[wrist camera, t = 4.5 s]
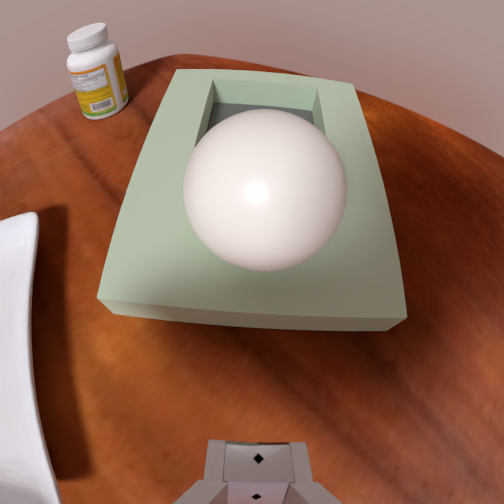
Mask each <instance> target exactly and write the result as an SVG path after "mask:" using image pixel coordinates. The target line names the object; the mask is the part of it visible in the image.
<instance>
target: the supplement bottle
mask: <svg viewBox="0 0 504 504" xmlns="http://www.w3.org/2000/svg"><path fill="white" fill-rule="evenodd" d="M107 38H108V31H107V26H106V24H105V23H95V24H91V25H88V26H85V27H83V28H80V29H78V30H76V31H75V32H73V33H71V34H70V35H69V36H68V38H67V42H68V46H69V49H70V51H72V53H71V54H70V56H69V58H68V59H67V67H68V71H69V74H70V77H71V80H72V83H73V85H74V89H75V92H76V95H77V98H78V101H79V103H80V106H81V109H82V112H83V114H84V116H85V117H87V118H89V119H93V120H97V119H104V118H107V117H110V116H112V115H114V114H116V113H118V112H119V111H120V110H121V109H123V108H124V106H125V105H126V104H127V102H128V91H127V87H126V83H125V79H124V74H123V70H122V65H121V60H120V55H119V50H118V46H117V44H116V43H115V42H114V41H112V40H107Z"/></svg>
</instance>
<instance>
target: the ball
mask: <svg viewBox="0 0 504 504" xmlns="http://www.w3.org/2000/svg"><path fill="white" fill-rule="evenodd" d="M346 196H347V187H346V176H345V173H344V169H343V165H342V162H341V160H340V157H339V155H338V153H337V151H336V150H335V148H334V146H333V145H332V143H331V142H330V141H329V140H328V139H327V137H326V136H325V135H324V134H323V133H322V132H321V131H320V130H319V129H318V128H316V127H315V126H314V125H312V124H311V123H309V122H308V121H306V120H304V119H303V118H301V117H299V116H296V115H294V114H291V113H288V112H284V111H279V110H272V109H257V110H250V111H245V112H242V113H239V114H236V115H233V116H231V117H228V118H227V119H225V120H223V121H221V122H220V123H218V124H217V125H215V126H214V127H213V128H211V129H210V130H209V131H208V132H207V133H206V134H205V135H204V136H203V138H202V139H201V140H200V141H199V143H198V144H197V145H196V147H195V149H194V150H193V152H192V154H191V156H190V158H189V161H188V164H187V167H186V170H185V175H184V182H183V199H184V205H185V210H186V213H187V216H188V219H189V222H190V224H191V226H192V228H193V230H194V231H195V233H196V235H197V236H198V238H199V239H200V240H201V241H202V243H203V244H204V245H205V246H206V247H207V248H208V249H209V250H210V251H211V252H213V253H214V254H215V255H216V256H218V257H219V258H221V259H222V260H224V261H226V262H228V263H230V264H232V265H234V266H237V267H240V268H243V269H247V270H253V271H278V270H283V269H287V268H291V267H293V266H296V265H298V264H300V263H302V262H304V261H306V260H308V259H310V258H311V257H313V256H314V255H315V254H316V253H318V252H319V251H320V250H321V249H322V248H323V247H324V246H325V245H326V244H327V243H328V242H329V240H330V239H331V237H332V236H333V235H334V233H335V232H336V230H337V228H338V226H339V224H340V222H341V219H342V216H343V213H344V209H345V204H346Z"/></svg>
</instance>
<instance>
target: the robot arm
mask: <svg viewBox="0 0 504 504" xmlns="http://www.w3.org/2000/svg"><path fill="white" fill-rule="evenodd" d="M225 443H226V446H225ZM0 504H1V503H0ZM173 504H342V503H341V502H340V501H339V500H338V499H337V498H335V497H334V496H333V495H332V494H331V493H330V492H329V491H328V490H326V489H325V488H324V487H323V486H322V485H321V484H320V483H319V482H313V477H312V471H311V466H310V460H309V455H308V450H307V445H306V443H305V442H298V443H288V442H279V443H262V442H257V443H248V442H235V441H223V440H212V439H209V442H208V448H207V456H206V464H205V473H204V480H198V481H197V482H196V483H195V484H194V485H193V486H192V487H191V488H189V489H188V490H187V491H186V492H185V493H184V494H183V495H182V496H181V497H180V498H179V499H177V500H176V501H175V502H174V503H173Z"/></svg>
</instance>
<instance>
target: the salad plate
mask: <svg viewBox="0 0 504 504" xmlns="http://www.w3.org/2000/svg"><path fill="white" fill-rule="evenodd" d="M38 238H39V218H38V215H37V213H36V212H28V213H24V214H20V215H17V216H13V217H10V218H7V219H4V220H2V221H0V503H1V504H63V503H62V497H61V493H60V490H59V486H58V483H57V480H56V476H55V473H54V470H53V467H52V464H51V460H50V457H49V453H48V449H47V445H46V441H45V437H44V433H43V429H42V424H41V420H40V414H39V409H38V403H37V396H36V389H35V381H34V370H33V358H32V337H31V309H32V291H33V278H34V269H35V261H36V254H37V247H38Z"/></svg>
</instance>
